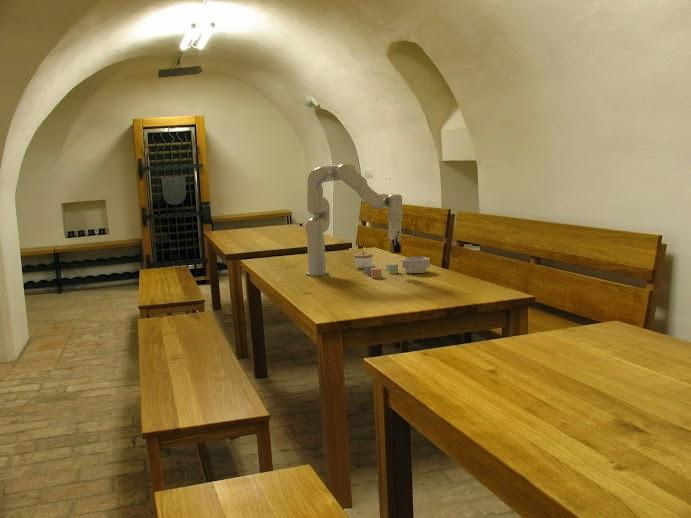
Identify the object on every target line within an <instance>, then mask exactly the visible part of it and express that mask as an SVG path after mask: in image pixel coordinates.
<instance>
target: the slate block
mask: <svg viewBox="0 0 691 518" xmlns="http://www.w3.org/2000/svg"><path fill="white" fill-rule="evenodd" d="M371 268H376V265H375V264H371V265H363V269H362V270H363V275H364V274H366V275H365V276H367V275H368V276H371Z"/></svg>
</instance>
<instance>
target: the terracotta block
mask: <svg viewBox="0 0 691 518" xmlns="http://www.w3.org/2000/svg"><path fill="white" fill-rule="evenodd" d="M382 275H383V274H382V268H381V267H375V268H371V275H370V277H371V279H372V278H377V279H383V278H382V277H383V276H382Z"/></svg>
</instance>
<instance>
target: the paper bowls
mask: <svg viewBox="0 0 691 518" xmlns="http://www.w3.org/2000/svg"><path fill="white" fill-rule="evenodd" d="M430 261H431V259H430V258H429V257H425V256H410V257H403V258H401V268H403V269H404V270H405V272H406V273H407V274H411V273H421V274H424V273H425V272H426V271H427V269H429V268H430V267H431V265H430V264H431V263H430Z"/></svg>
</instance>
